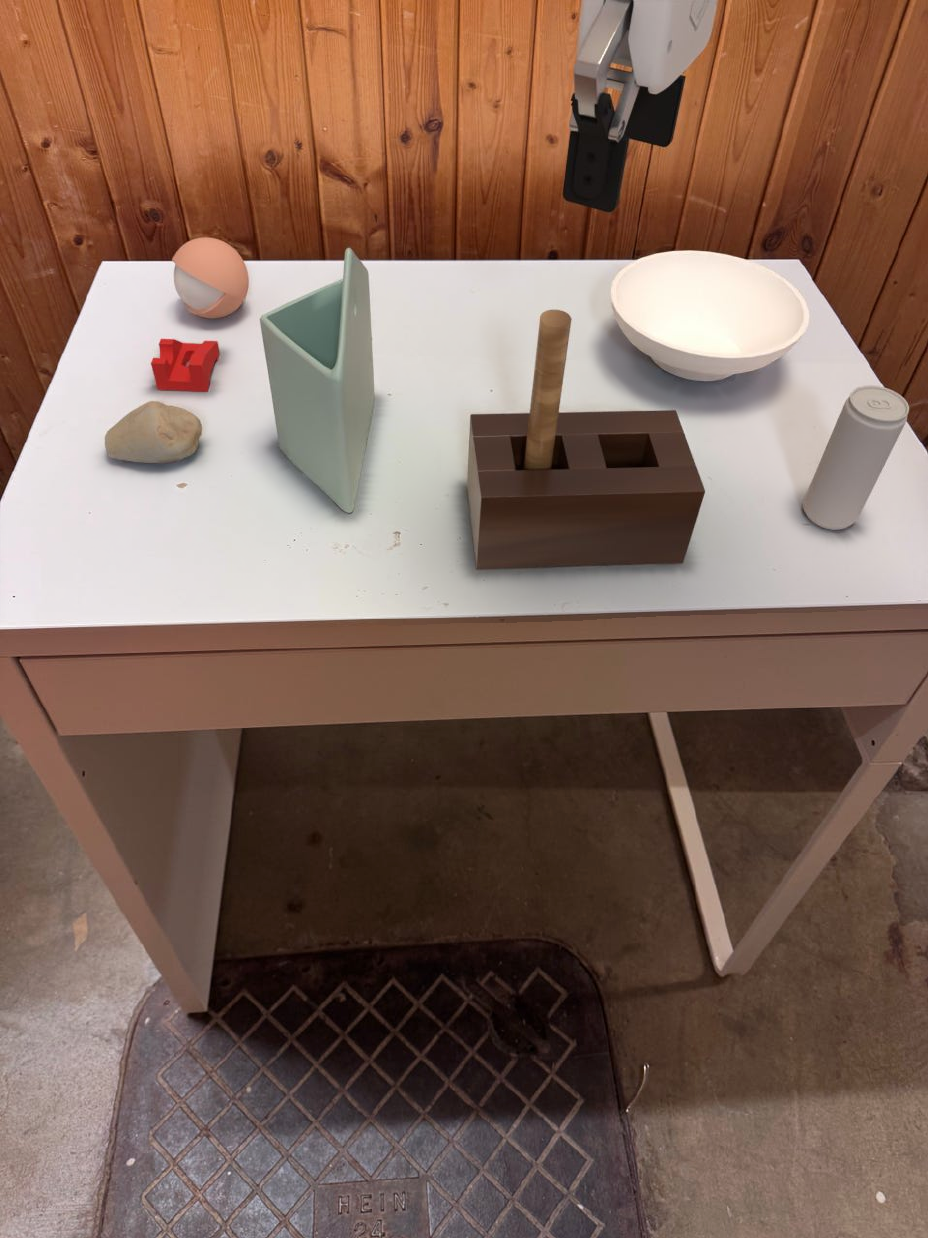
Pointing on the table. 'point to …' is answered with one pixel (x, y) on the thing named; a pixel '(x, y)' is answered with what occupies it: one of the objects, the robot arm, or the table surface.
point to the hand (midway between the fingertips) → (619, 170)
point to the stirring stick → (547, 388)
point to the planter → (324, 380)
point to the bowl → (707, 313)
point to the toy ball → (210, 277)
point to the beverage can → (855, 456)
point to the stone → (154, 434)
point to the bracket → (184, 365)
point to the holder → (583, 491)
